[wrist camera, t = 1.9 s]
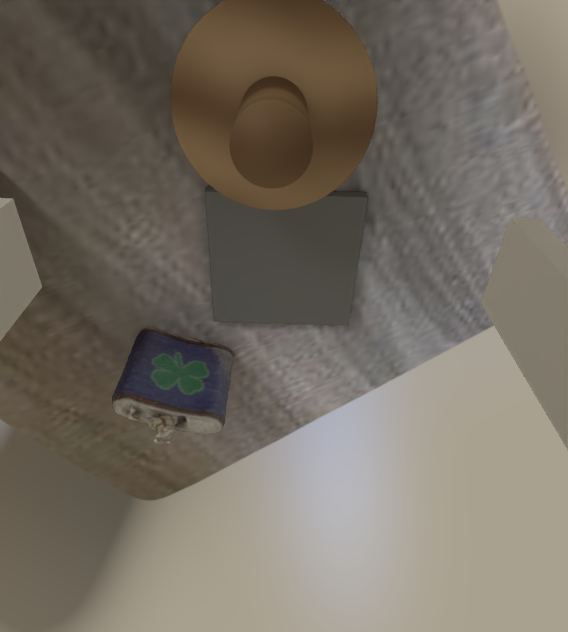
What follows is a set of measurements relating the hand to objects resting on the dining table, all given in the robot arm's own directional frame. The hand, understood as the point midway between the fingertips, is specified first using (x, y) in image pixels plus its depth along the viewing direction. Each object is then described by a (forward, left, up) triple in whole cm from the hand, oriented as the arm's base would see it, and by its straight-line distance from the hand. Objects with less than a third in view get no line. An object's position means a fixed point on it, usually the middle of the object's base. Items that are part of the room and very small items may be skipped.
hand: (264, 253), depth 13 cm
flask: (+23, -8, -22) cm, 33 cm away
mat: (+13, +1, -22) cm, 26 cm away
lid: (0, 0, -16) cm, 16 cm away
